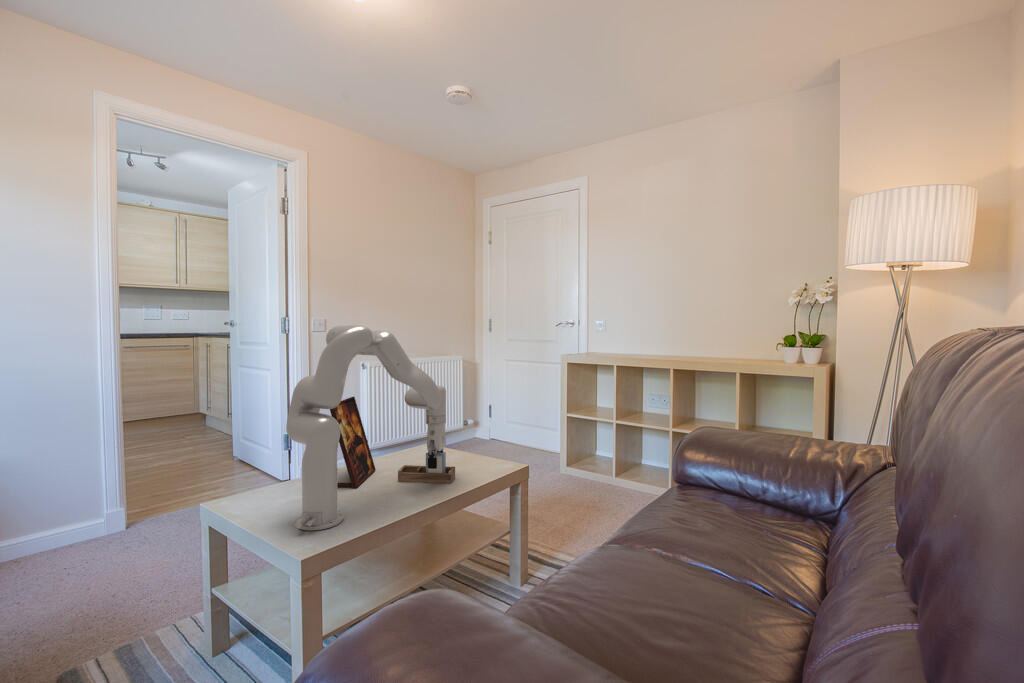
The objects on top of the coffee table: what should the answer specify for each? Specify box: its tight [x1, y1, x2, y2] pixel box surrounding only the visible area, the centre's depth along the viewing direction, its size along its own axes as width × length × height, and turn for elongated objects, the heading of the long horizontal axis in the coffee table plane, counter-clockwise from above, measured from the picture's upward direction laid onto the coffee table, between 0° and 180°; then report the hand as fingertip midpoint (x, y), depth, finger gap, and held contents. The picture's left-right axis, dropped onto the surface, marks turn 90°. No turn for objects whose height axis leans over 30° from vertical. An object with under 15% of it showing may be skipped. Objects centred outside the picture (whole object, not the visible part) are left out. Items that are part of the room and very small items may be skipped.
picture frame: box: [329, 395, 377, 489], centre depth 174 cm, size 21×11×30 cm, turn 179°
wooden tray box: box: [397, 464, 456, 484], centre depth 173 cm, size 7×20×4 cm, turn 84°
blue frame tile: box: [425, 451, 447, 473], centre depth 172 cm, size 2×7×9 cm, turn 84°
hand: (435, 464), depth 173 cm, fingers open, 9 cm apart
